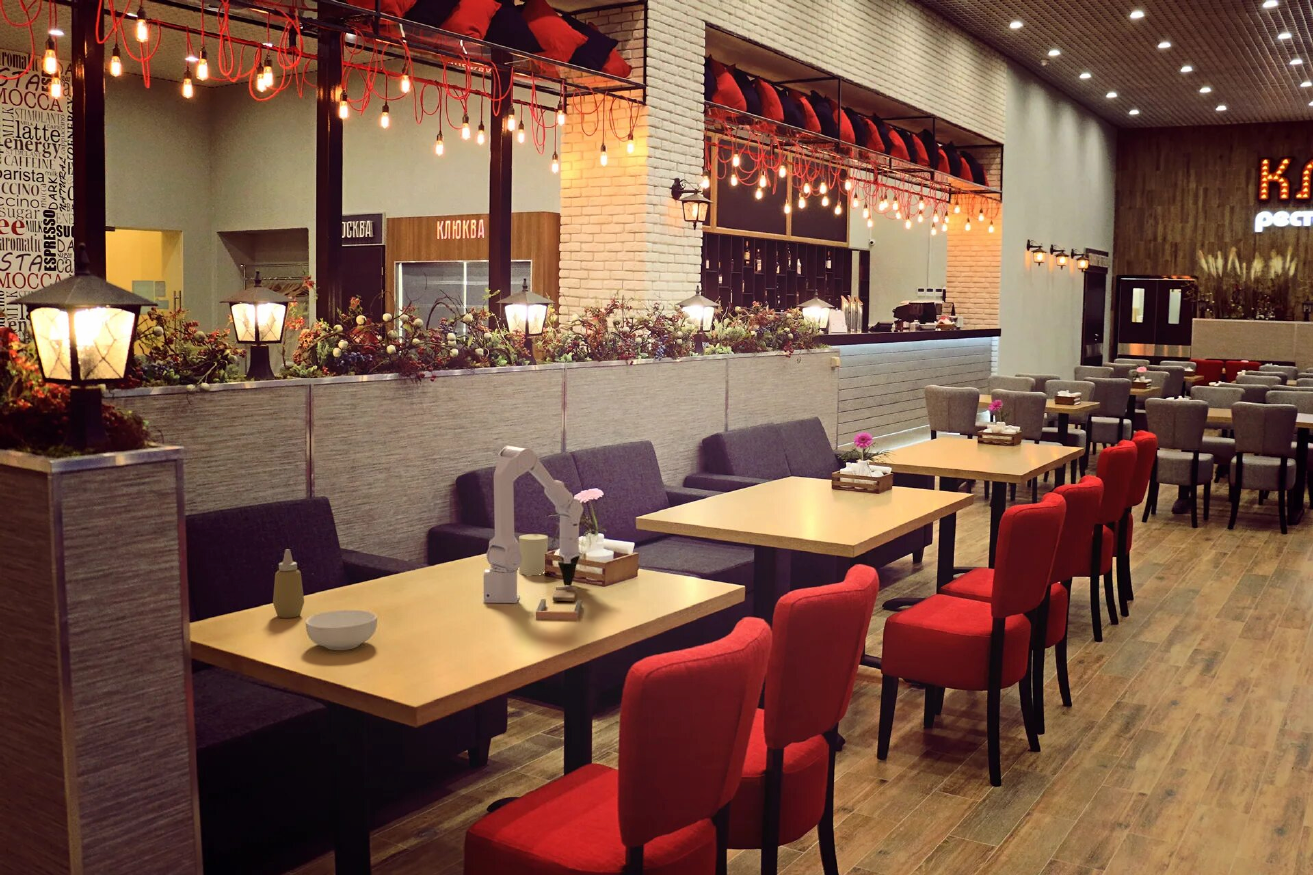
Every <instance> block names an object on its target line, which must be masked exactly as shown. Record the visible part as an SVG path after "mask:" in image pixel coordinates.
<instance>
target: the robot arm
mask: <svg viewBox="0 0 1313 875" xmlns="http://www.w3.org/2000/svg"><path fill="white" fill-rule="evenodd" d="M527 472H529V473H530V474H531V475H532V476H533V477H534V478H535V479H536V480H537V481H538V482H539V483H540V484H541V485H542V486H543V488H544V495H546V496H547V498H548V500H550V501H551V503H553V505H554V506H555V507H554V508H555V513H556V514H558V515H559V551H558V556H560V558H561V560H562V561H558V562H557V566H558V567H559V569H560V572H561V576H562V581H563V584H564V585H563V586H572V583H573V581H574V579H575V576H576V575H575V574H576V568H577V565H578V562H579V559H580V558H581V556H583V551H580V549H579V548H580V546H579V544H580V543H579V542H580V522H581V516H582V514H583V512H584V507H583V505H582V502H581V501H580V500H579V499H577V498H574V496H573V493H572V492H569V490H568V489H567V488H566V487H565V483H564V482H563V481H560V480H557V479H554V478H553V477H552V476H551V474H550V473H549V472H548V470H547V469H546V468H545V466H544V465H543V463H542V462H541V461H540V456H538V454H536V453H535V451H534V450H533V449H531V448H529V447H528V448H527V447H526V448H524V447H517V446H513V445H506V446H504V447H503V448H502V449H501V450H500V451H499V452H498V453H497V465H496V467H495V470H494V473H493V503H494V504H493V506H494V509H493V512H494V536H493V538H491V539H490V540H489V541H488V549H487V551H486V561H487V562H488V564H489V565H490V568H488V569H487V568H486V569H484V571H483V572H484V573H483V601H482V602H483V603H485V604H487V603H492V604H495V603H496V604H499V603H500V604H502V603H503V604H508V603H509V604H517V603H518V601H519V599H520V597H521V595H520V594H518V571H519V567H520V565H521V563H522V559H523V557H522V553H521V551H520V544H519V540H517V537H516V536H515V503H514V502H515V499H514V498H515V497H514V495H515V494H514V482H515V481H516V480H517V478H518V477H520V476H523V475H524V474H525V473H527Z"/></svg>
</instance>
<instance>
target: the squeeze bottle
mask: <svg viewBox="0 0 1313 875" xmlns="http://www.w3.org/2000/svg"><path fill="white" fill-rule="evenodd" d="M303 589H304V588H303V581H302V574H301V571H300V570H299V569H298V563H297V562H296V561H293V557H292V552H291V549H288V548H287V549H285V550H284V554H283V560H282V562H279V563H278V570H277V571H276V572H275V573H274V587H273V598H272V604H273V607H274V610H275V612H276V615H277V617H279V618H283V619H286V618H287V619H290V618H291V619H292V618H297V617H299V616H300V615H301V614H302V610H303V607H304V604H305V597H304V590H303Z"/></svg>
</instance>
